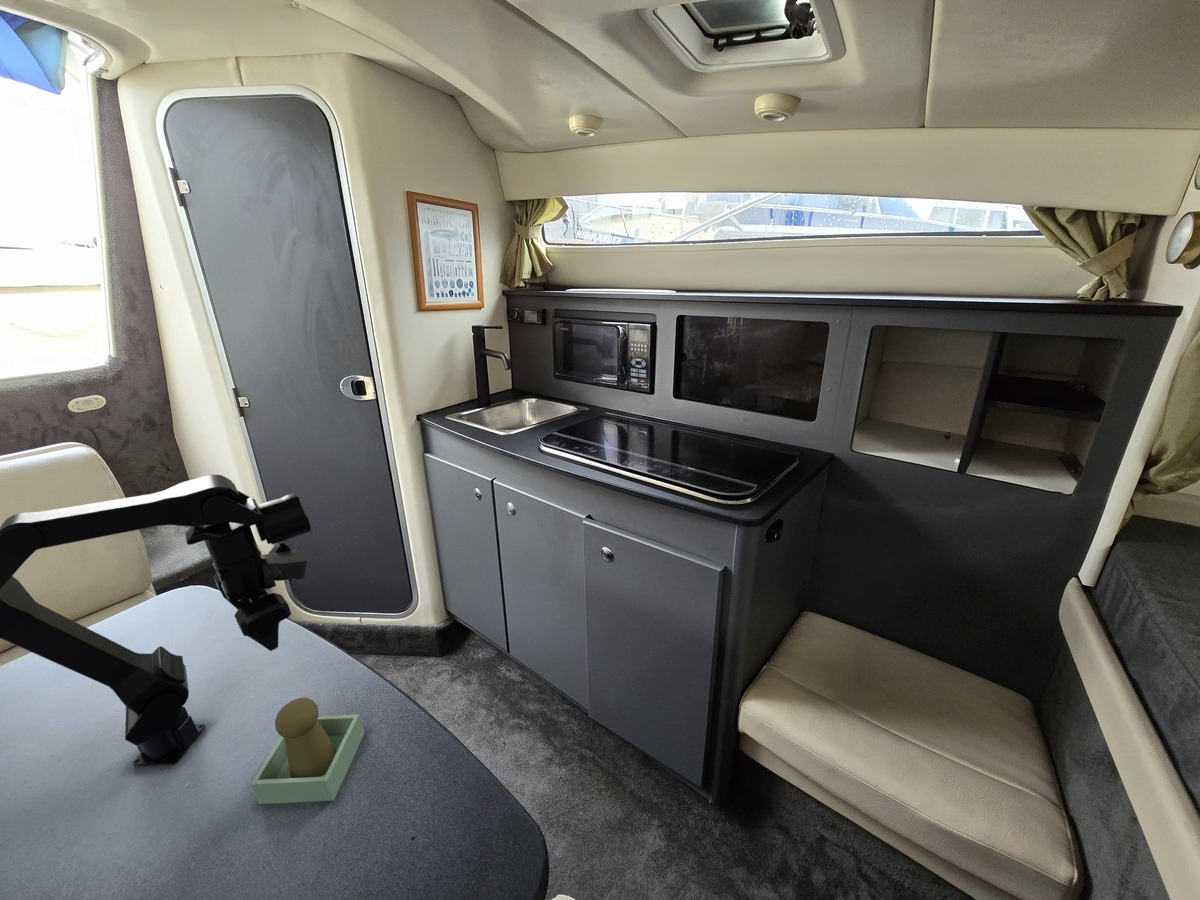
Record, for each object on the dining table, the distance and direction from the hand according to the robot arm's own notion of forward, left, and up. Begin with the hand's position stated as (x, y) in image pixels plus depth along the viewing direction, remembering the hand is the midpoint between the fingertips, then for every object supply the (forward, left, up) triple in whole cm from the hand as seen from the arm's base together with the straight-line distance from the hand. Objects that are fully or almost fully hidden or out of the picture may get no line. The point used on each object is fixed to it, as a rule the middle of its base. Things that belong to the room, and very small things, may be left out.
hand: (265, 635), depth 81 cm
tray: (+12, -15, -12) cm, 23 cm away
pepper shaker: (+12, -14, -12) cm, 22 cm away
